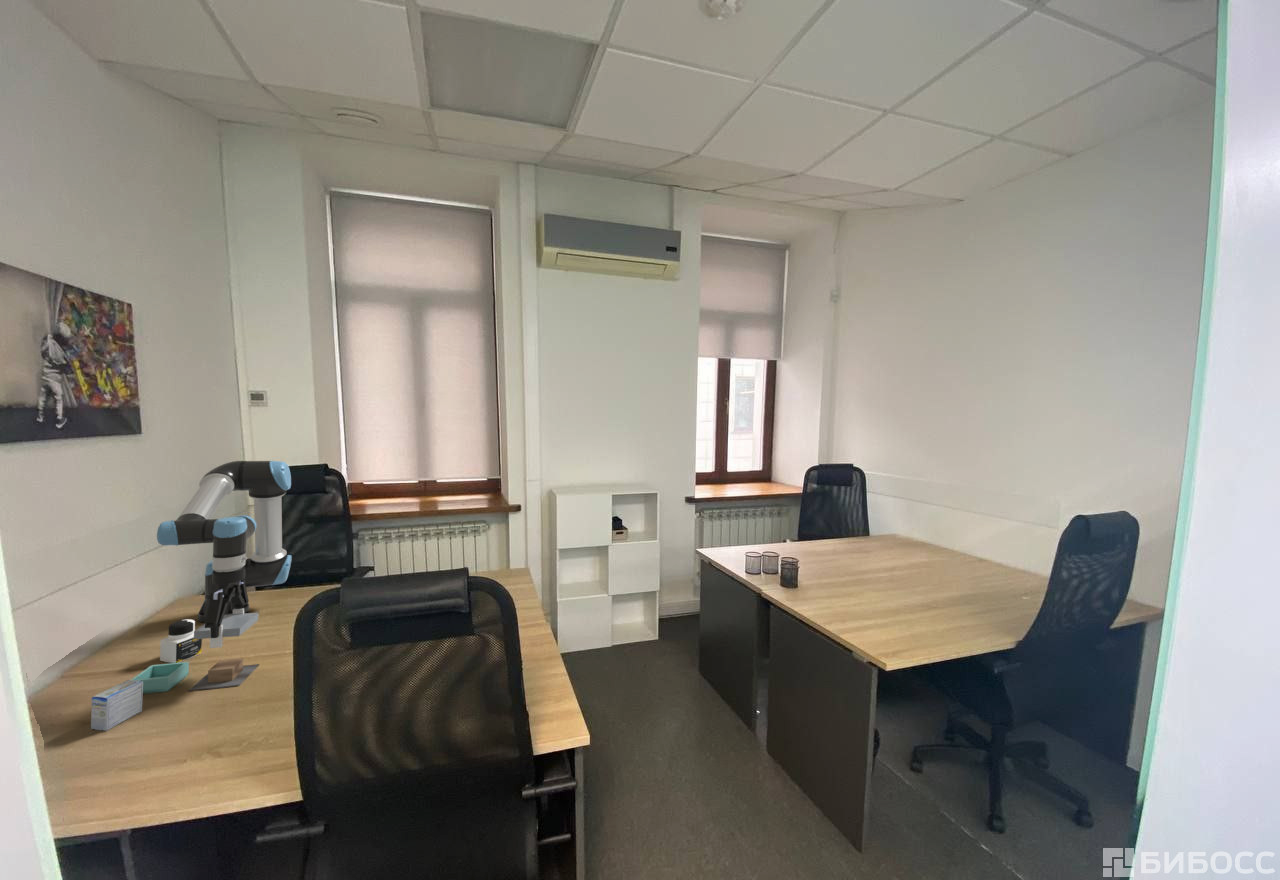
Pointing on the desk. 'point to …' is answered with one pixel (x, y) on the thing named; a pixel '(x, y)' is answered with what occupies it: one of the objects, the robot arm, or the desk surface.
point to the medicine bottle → (180, 642)
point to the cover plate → (230, 625)
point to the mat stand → (225, 675)
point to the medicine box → (116, 705)
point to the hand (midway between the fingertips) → (227, 637)
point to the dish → (162, 676)
